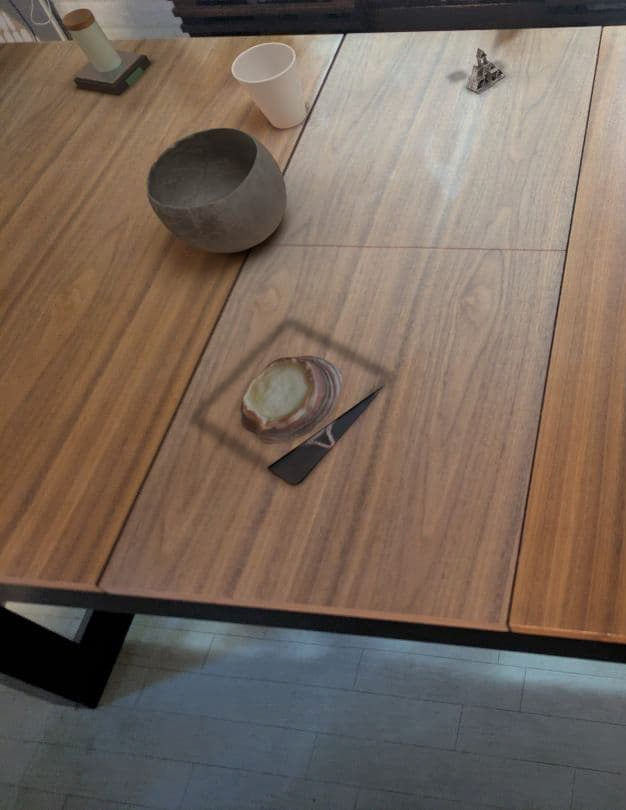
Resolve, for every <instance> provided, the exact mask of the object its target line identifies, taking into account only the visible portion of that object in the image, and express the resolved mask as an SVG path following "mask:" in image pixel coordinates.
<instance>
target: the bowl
mask: <svg viewBox="0 0 626 810" xmlns="http://www.w3.org/2000/svg"><path fill="white" fill-rule="evenodd" d="M146 177H147V178H146V184H145V185H146V195H147V199H148V203H149V205H150V206H151V208H152V210H153V212H154V213H155V215H156V216H157V218H158V219H159V221H160V222H161V223H162V224H163V226H164V228H166V230H168V231H169V232H170V233H171V234H172V235H173V236H175V237H176V238H177V239H179V240H180V241H182V242H183V243H186V244H188V245H189V246H191V247H194V248H196V249H198V250H201V251H203V252H208V253H212V254H213V253H215V254H233V253H241V252H243V251H246V250H249V249H251V248H253V247H256V246H257V245H259V244H261V243H262V242H264V241H265V240H266V239H268V238H269V237H270V236H271V235H272V234H273V233H274V232H275V231H276V229H277V228H278V227H279V225H280V223H281V222H282V219H283V217H284V214H285V210H286V207H287V198H288V197H287V187H286V186H287V185H286V182H285V178H284V174H283V173H282V170H281V168H280V166H279V163H278V162H277V160H276V159H275V158H274V156H273V154H272V153H271V152H270V151H269V149H268V148H267V147H266V146H265V145H264V144H263V143H262V142H261V141H259V140H258V139H257V138H256V137H254V136H253V135H251V134H250V133H248V132H246V131H244V130H241V129H239V128H238V129H237V128H232V127H231V128H230V127H214V128H208V129H204V130H200V131H196V132H193V133H190V134H188V135H186V136H183V137H181V138H180V139H178V140H176V141H175V142H174V143H173V144H172V145H171V146H169V147H167V148H166V149H165V150H164V151H162V153H161V154H160V155H159V156H158V157H157V158H156V160H155V161H154V162H153V163H152V164H151V166H150V168H149V171H148V174H147V176H146Z"/></svg>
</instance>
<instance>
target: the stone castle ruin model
mask: <svg viewBox="0 0 626 810" xmlns="http://www.w3.org/2000/svg"><path fill="white" fill-rule="evenodd" d="M487 56H488V55H487V53H485V51H484V50H483V49H481V48H479V47H477V51H476V54H475V59H476V63H477V65H476V64H473V65H472V70H471V74H470V75H469V76H468V79H467V84H466V88H468V89H469V90H471V92H475V93H477V94H478V95H481V93H483V92H485V91H486V90H487V89H489V88H491V87H494V84H496V83H497V82H500V81H501V80H502V79H504V78H506V73H504V72H503V71H502V70H501V69H500V68H499V67H497V66H496V65H495V64H494V63H493V62H492V61H491V60H489V59H487Z"/></svg>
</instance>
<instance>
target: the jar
mask: <svg viewBox="0 0 626 810" xmlns="http://www.w3.org/2000/svg"><path fill="white" fill-rule="evenodd" d="M61 22H62V25H63V26H64V28H65V29H66V30H68V33H70V35H71V37H72V38H73V39H74V41H75V42H76V44H77V46H78V47H79V48H80V50H81V52H83V54H84V55H85V56H86V58H87V60H88V61H89V62H90V63H91V64H92V65H93V67H94V68H95V70H96V71H97V72H101V73H103V72H109V71H112V70H114V69H116V68H117V67H118V66H119V65H120V64H121V58H120V56H119V55H118V53H117V52H116V50H117V49H115V47H114V45H113V44H112V42H111V41H110V39H109V37H108V36H107V35H106V33H105V32H104V30H103V28H102V27H101V25H100V24H99V22H98V21H97V19H96V17H95V15H94V13H93V11H92V10H90V9H89V8H78V9H74V10H72V11H70V12H68V13H66V14H65V15H64V16H63V18H62V20H61Z"/></svg>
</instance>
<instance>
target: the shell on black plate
mask: <svg viewBox="0 0 626 810" xmlns="http://www.w3.org/2000/svg"><path fill="white" fill-rule="evenodd" d="M342 384H343V373H342V371H341V370H340V368H339V367H338V366H337V365H336V364H334V363H332V362H331V361H329V360H327V359H325V358H322V357H320V356H314V355H301V356H300V355H299V356H284V357H283V356H282V357H279V358H277V359H275V360H273V361H271V362H270V363H268V365H266V366H265V368H264V369H263V371H262V372H261V373H260V374H258V375H257V376H254V377H253V378H252V380H251V382H250V383H249V384H248V385H247V387H246V389H245V391H244V393H243V395H242V397H241V402H240V403H241V405H240V412H241V425H242V427H243V428H244V429H245V430H246V431H248V432H250V433H253V434H254V435H256V436H257V437H258V438H259V440H260V442H261V443H263V444H264V445H265V444H266V445H273V444H284V443H285V444H286V443H291V442H294V441H295V440H298V439H300V438H302V437H304V436H306V435H309V434H312V432H314V431H315V430H316V429H317V428H318V427H319V426H320V425H321V424H322V423H323V422H324V421H325V420H326V419H327V418H328V416H329V415H330V413H331V412H332V409H333V408H334V407H335V404H336V400H337V398H338V395H339V393H340V390H341V387H342ZM384 386H385V385H382V386H380V387H379V388H378V389H376V390H374V391H373V392H371V393H370V394H368V395H367V396H366V397H364V398H363V399H362V400H360V401H359V402H357V403H356V404H355V405H353V406H352V407H351V408H349V409H348V410H346V411H345V412H343V413H342V414H341V415H339V416H338V417H336V418H335V419H333V420H332V421H331V422H329V423H328V424H326V425H325V426H324V427H322V428H321V429H320V430H318V431H316V432H315V433H314V434H312V435H311V436H310V437H308V438H307V439H305V440H304V441H302V442H300V443H299V444H298V445H297V446H295V447H294V448H292V449H291V450H289V451H288V452H287V453H286V454H284V455H283V456H281V457H280V458H278V459H277V460H276V461H274V462H273V463H271V464H270V465H268V466H267V467H266V468H267V469H268V470H270V471H271V472H273V473H274V474H276V475H277V476H279V477H280V478H281V479H283V480H285V481H286V482H288V483H290V484H293V485H295V484H298V483H300V482H301V481H302V480H303V479H304V478H305V477H306V476H307V475H308V473H310V471H311V470H312V469H313V468H314V467H315V466H316V465H317V463H319V462H320V460H321V459H323V457H324V456H325V455H326V454H327V453H328V452H329V451H330V450H331V449H332V447H333V446H335V444H337V442H338V441H339V440H340V439H341V438H342V436H343V435H344V434H345V433H346V432H347V431H348V429H349V428H350V427H351V426H352V425H353V423H354V422H355V421H356V420H357V419H358V418H359V416H360V415H361V414H362V412H363V411H364V410H365V409H366V408H367V407H368V406H369V404H370V403H371V402H372V400H373V399H374V398H375V397H376V396H377V394H378V393H379V392H380V391H381V389H382V388H383V387H384Z"/></svg>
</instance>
